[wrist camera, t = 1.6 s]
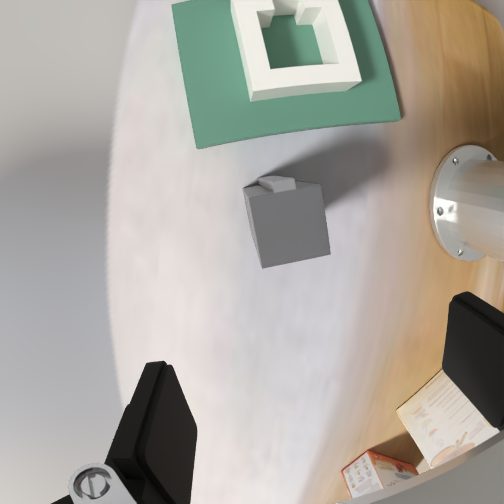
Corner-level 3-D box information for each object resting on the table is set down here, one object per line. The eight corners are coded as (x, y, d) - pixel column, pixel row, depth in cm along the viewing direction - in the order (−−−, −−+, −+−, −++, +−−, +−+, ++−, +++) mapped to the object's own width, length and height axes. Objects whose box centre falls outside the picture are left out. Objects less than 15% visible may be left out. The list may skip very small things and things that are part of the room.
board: (358, -4, 22) (363, -11, 21) (393, 121, 26) (401, 120, 24) (174, 11, 22) (171, 4, 20) (198, 149, 25) (196, 148, 24)
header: (321, 3, 21) (332, -15, 18) (346, 91, 23) (361, 81, 20) (230, 10, 21) (230, -10, 18) (250, 101, 23) (253, 91, 20)
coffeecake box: (413, 427, 36) (472, 523, 17) (393, 409, 34) (459, 521, 15) (488, 357, 34) (569, 431, 15) (476, 330, 32) (573, 412, 13)
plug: (287, 172, 26) (319, 174, 17) (296, 224, 27) (330, 254, 18) (241, 181, 26) (246, 186, 17) (251, 233, 27) (262, 268, 18)
